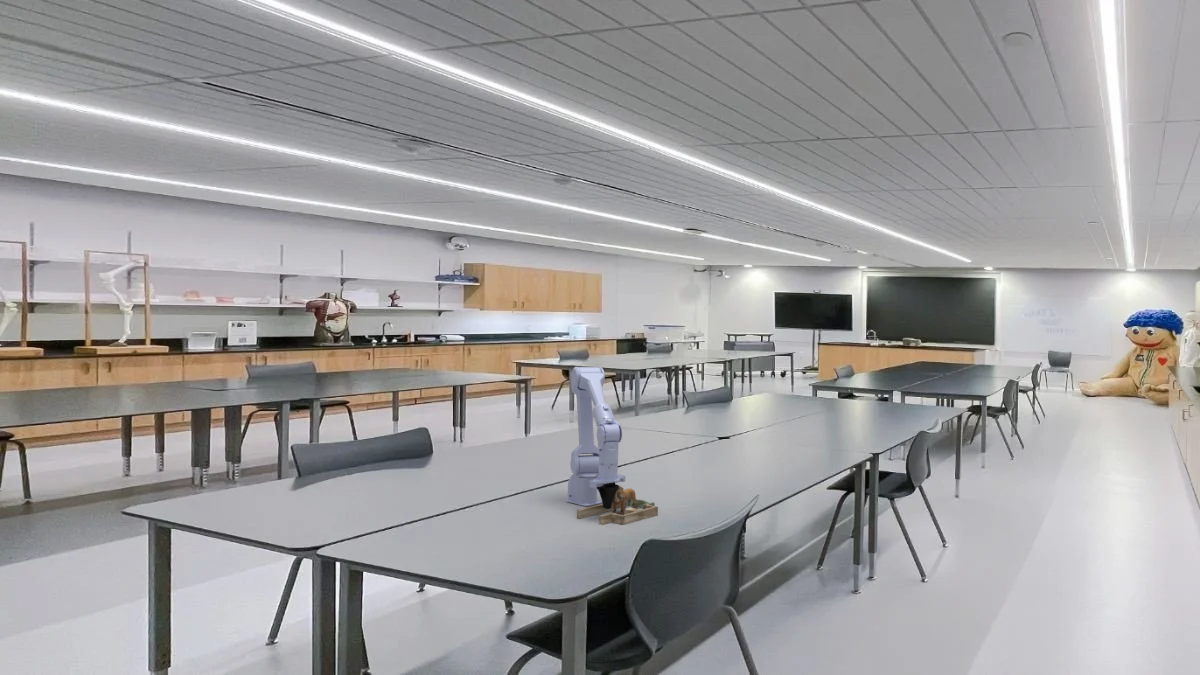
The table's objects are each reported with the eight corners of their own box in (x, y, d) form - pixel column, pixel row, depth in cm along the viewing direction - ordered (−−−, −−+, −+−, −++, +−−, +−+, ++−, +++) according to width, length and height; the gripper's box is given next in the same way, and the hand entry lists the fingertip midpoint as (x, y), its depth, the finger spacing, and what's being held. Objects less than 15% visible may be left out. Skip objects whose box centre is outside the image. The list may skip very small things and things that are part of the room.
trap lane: (576, 518, 235) (577, 508, 235) (629, 504, 254) (630, 496, 253) (612, 527, 226) (612, 518, 225) (664, 513, 244) (664, 504, 244)
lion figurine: (622, 517, 237) (623, 488, 237) (606, 515, 239) (607, 485, 239) (640, 507, 250) (641, 479, 250) (625, 505, 252) (626, 477, 252)
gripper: (602, 468, 229) (601, 514, 229) (633, 462, 240) (632, 506, 240) (584, 465, 233) (583, 510, 234) (616, 459, 244) (614, 502, 245)
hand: (607, 508), depth 237 cm, fingers closed
